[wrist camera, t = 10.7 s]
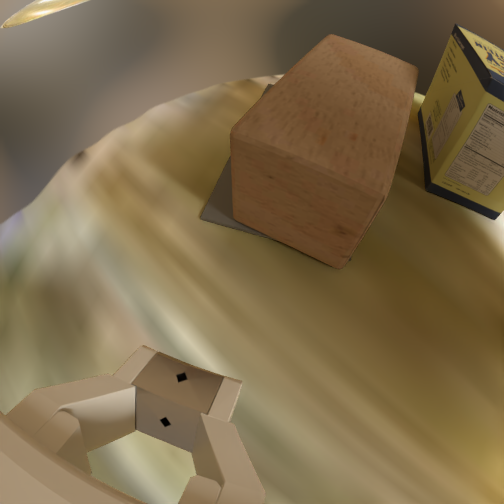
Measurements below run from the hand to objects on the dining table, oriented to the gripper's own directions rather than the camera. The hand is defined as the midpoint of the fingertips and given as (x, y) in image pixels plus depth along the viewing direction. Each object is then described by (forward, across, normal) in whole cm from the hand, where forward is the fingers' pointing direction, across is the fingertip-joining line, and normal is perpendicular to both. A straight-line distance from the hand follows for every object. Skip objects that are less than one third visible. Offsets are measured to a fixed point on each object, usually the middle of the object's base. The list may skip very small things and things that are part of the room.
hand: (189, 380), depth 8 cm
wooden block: (+14, -1, -3) cm, 15 cm away
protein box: (+32, -19, -13) cm, 39 cm away
